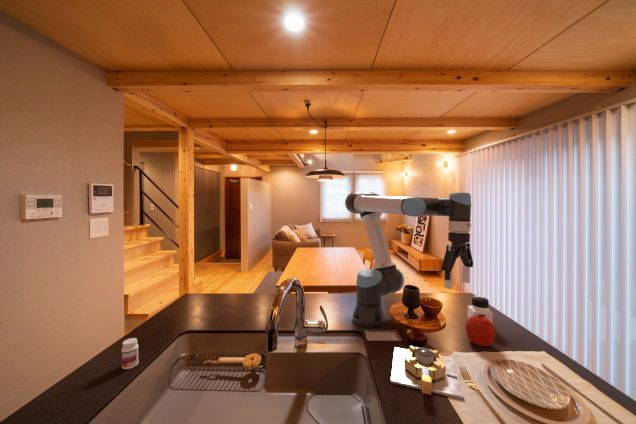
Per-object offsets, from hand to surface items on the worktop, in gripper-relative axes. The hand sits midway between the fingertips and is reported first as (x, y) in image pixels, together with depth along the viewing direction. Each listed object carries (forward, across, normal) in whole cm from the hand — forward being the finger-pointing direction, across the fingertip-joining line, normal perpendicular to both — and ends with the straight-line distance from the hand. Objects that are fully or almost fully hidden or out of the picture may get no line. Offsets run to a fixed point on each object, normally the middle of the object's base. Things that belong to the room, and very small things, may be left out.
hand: (457, 285), depth 101 cm
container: (+24, +25, +2) cm, 35 cm away
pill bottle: (+24, -106, +55) cm, 122 cm away
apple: (+24, +8, -5) cm, 26 cm away
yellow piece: (+22, -28, -5) cm, 36 cm away
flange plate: (+24, -26, -3) cm, 35 cm away
